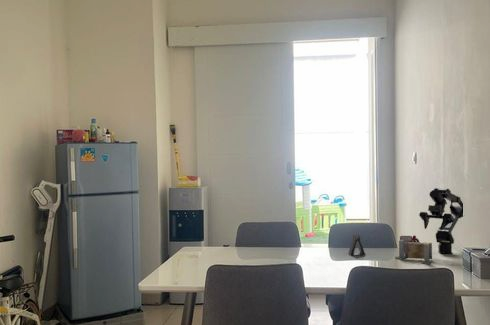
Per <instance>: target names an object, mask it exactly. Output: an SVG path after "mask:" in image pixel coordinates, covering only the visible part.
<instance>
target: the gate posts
mask: <svg viewBox="0 0 490 325" xmlns="http://www.w3.org/2000/svg"><path fill="white" fill-rule="evenodd" d="M422 243H423V244H424V259H423V260H421V263H420V264H422V265H431V264H432V262H431V261H430V259H429V244H430V243H431V242H427V241H425V242H422ZM398 252H399V253H398V254H399V255H396V256H394V259H397V260H405V259H407V258H405V247H404V241H403V240H400V239H399V241H398Z"/></svg>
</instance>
